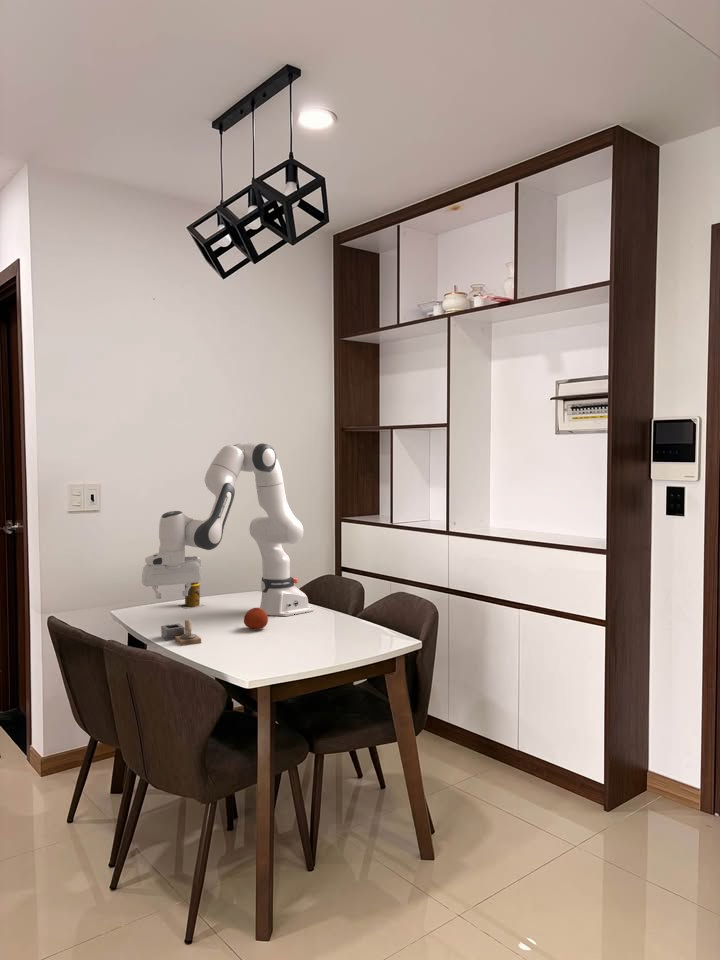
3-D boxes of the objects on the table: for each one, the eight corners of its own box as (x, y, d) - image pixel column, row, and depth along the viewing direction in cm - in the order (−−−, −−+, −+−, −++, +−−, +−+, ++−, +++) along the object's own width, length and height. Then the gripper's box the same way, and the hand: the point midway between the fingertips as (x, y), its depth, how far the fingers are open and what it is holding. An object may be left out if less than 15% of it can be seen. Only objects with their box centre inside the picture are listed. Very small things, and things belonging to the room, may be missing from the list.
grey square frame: (179, 634, 264) (179, 623, 264) (184, 638, 258) (184, 627, 258) (161, 636, 261) (161, 625, 261) (166, 641, 255) (166, 629, 255)
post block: (194, 638, 259) (194, 617, 259) (201, 643, 253) (201, 621, 253) (175, 640, 255) (174, 619, 255) (181, 645, 249) (180, 623, 249)
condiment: (203, 605, 311) (203, 577, 310) (186, 609, 305) (185, 580, 305) (194, 603, 316) (194, 575, 316) (177, 606, 310) (176, 577, 310)
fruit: (241, 627, 275) (241, 606, 274) (264, 625, 278) (264, 604, 277) (246, 633, 266) (246, 611, 266) (270, 631, 270) (270, 609, 269)
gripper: (198, 554, 266) (198, 592, 267) (140, 558, 256) (140, 598, 256) (203, 557, 261) (203, 595, 261) (145, 560, 250) (145, 601, 251)
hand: (171, 597), depth 259 cm, fingers open, 8 cm apart
